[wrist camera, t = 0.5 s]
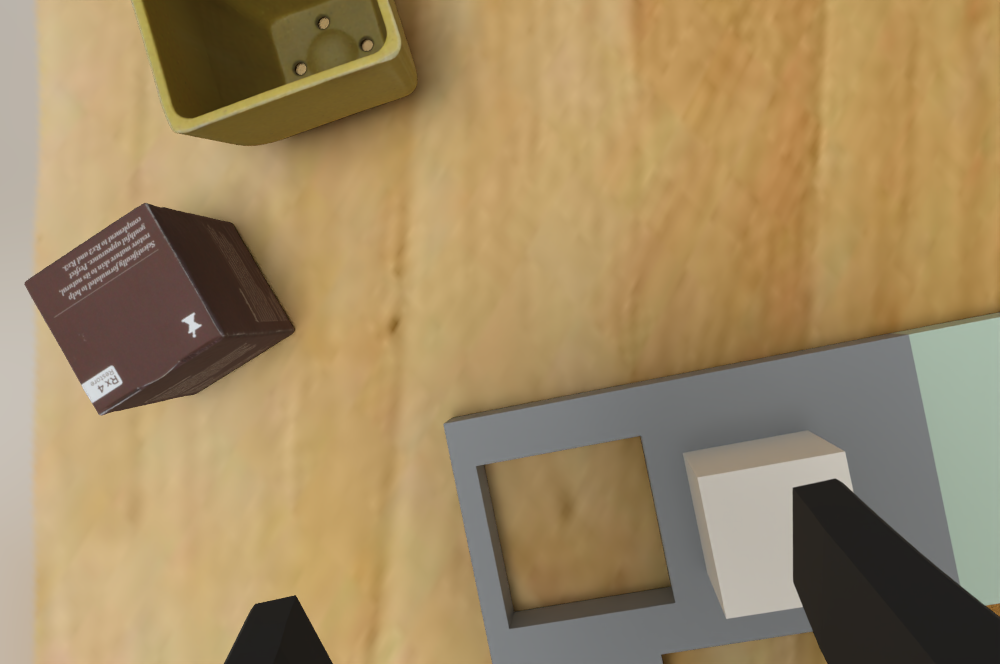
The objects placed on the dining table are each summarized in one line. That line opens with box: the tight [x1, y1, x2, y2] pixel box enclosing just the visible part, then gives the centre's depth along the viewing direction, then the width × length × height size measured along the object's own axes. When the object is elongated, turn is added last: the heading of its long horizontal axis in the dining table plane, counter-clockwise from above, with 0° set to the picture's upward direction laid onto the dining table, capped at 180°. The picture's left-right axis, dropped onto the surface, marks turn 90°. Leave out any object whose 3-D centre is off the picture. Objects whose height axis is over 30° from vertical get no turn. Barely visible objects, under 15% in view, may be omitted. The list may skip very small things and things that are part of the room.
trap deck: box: [444, 312, 1000, 664], centre depth 33 cm, size 20×30×2 cm, turn 102°
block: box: [683, 430, 854, 619], centre depth 30 cm, size 5×5×5 cm
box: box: [25, 203, 294, 415], centre depth 34 cm, size 6×6×7 cm
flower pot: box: [131, 0, 417, 146], centre depth 32 cm, size 9×9×9 cm
